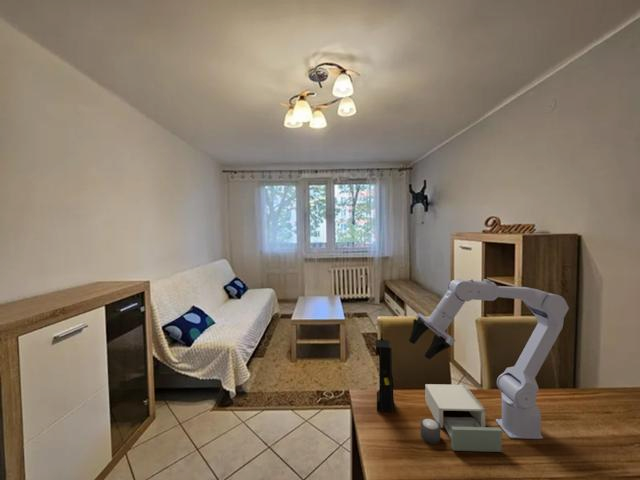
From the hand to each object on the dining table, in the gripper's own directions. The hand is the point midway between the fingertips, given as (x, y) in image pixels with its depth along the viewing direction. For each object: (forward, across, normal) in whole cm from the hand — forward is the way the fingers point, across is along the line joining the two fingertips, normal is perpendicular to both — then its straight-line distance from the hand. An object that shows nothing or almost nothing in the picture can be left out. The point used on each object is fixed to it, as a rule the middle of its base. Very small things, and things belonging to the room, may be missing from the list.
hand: (418, 349), depth 87 cm
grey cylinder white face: (+20, +9, +14) cm, 26 cm away
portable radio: (+26, -7, +12) cm, 29 cm away
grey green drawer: (+13, +12, +22) cm, 28 cm away
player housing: (+13, +4, +27) cm, 30 cm away
